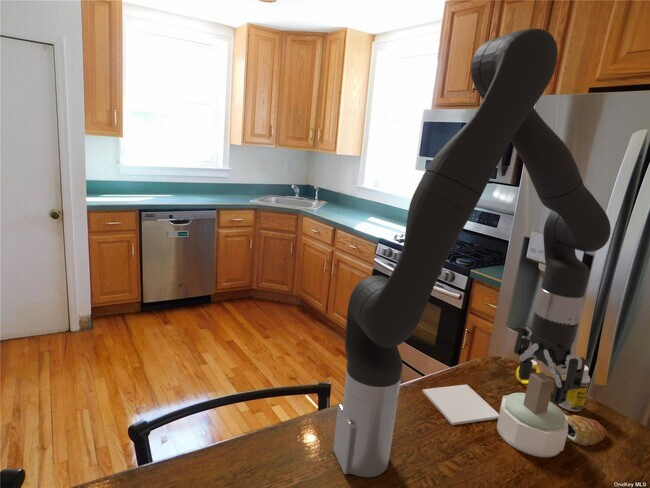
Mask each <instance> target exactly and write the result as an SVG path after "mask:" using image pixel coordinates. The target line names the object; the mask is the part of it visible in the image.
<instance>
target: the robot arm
mask: <svg viewBox="0 0 650 488" xmlns="http://www.w3.org/2000/svg"><path fill="white" fill-rule="evenodd" d="M558 56H559V55H558V45H557V42H556V40H555V37H554V36H553V35H552V34H551V33H550V32H549V31H547V30H545V29H542V28H526V29H521V30H518V31H514V32H511V33H508V34H504V35H501V36H499V37H495V38H492V39H490V40H488V41H485V43H482V44H481V45H480V46H479V47H478V49H477V50H476V51H475V53H474V55H473V57H472V61H471V64H470V73H471V74H470V76H471V80H472V83H473V85H474V87H475V89H476V91H477V93H478V95H479V96H480V97H481V99H482V100H481V103H480V104H479V107H478V108H477V109H476V111H475V112H474V114H473V115H472V116H471V117H470V118H469V120H468V122H467V123H466V124H465V125H463V126H462V128H461V129H460V130H459V131H458V132H457V133H456V134H454V136H453V137H452V138H451V139H449V141H448V142H446V144H444V146H443V147H442V148H441V149H440V150H439V151H438V153H437V154H435V156H434V157H433V158H432V160H431V161H430V163H429V164H428V166H427V167H426V169H425V172H424V173H423V175H422V177H421V179H420V181H419V182H418V184H417V186H416V189H415V190H414V192H413V195H412V197H411V200H410V204H409V207H408V212H407V219H406V226H405V234H404V241H403V245H402V250H401V253H400V255H399V258H398V260H397V263H396V265H395V266H394V268H393V270H392V272H391V274H390V276H389V278H388V277H386V276H383V275H370V276H367V277H365V278H363V279H362V280H360V281H359V282H358V283H357V284H356V286H355V287H354V289H352V292H351V294H350V296H349V300H348V303H347V304H348V305H347V313H346V325H345V338H344V340H345V342H344V344H345V345H344V347H345V354H346V361H347V362H346V372H345V381H344V389H343V398H342V403H341V404H338V405H337V413H336V421H335V431H334V440H333V449H332V450H333V453H334V456H335V457H336V459H337V461H338V463H339V466H340V467H341V470H342V473H343V474H344V475H349V474H350V475H354V476H357V477H362V478H373V477H377V476H380V475H381V474H383V473H385V471H386V470H387V469H388V466H389V461H390V455H391V448H392V442H393V435H394V427H395V423H396V422H395V421H396V414H397V413H396V412H397V406H398V401H399V395H400V394H399V392H400V388H401V381H402V373H403V359H402V355H401V354H400V350H399V347H398V346H400V345H401V344H403V343H404V342H406V341H407V340H408V339H410V337H411V336H412V334H414V332H415V330H416V329H417V327H418V326H419V323H420V321H421V319H422V316H423V315H424V312H425V310H426V307H427V305H428V302H429V300H430V297H431V295H432V293H433V290H434V287H435V285H436V284H437V281H438V278H439V276H440V274H441V272H442V270H443V268H444V266H445V264H446V262H447V261H448V258H449V256H450V254H451V253H452V250H453V248H454V246H455V244H456V243H457V241H458V239H459V237H460V235H461V233H462V231H463V230H464V228H465V225H467V223H468V222H469V219H470V217H471V216H472V214H473V212H474V210H475V209H476V206H477V205H478V203H479V201H480V200H481V197H482V195H483V193H484V191H485V190H486V187H487V185H488V184H489V181H490V179H491V178H492V176H493V174H494V172H495V170H496V169H497V167H498V165H499V164H500V162H501V160H502V158H503V156H504V155H505V153H506V151H507V150H508V147H509V146H510V144H511V143H512V145H513V148H514V149H515V150H516V152H517V154H518V156H519V158H520V160H521V161H522V163H523V165H524V167H525V169H526V172H527V173H528V176H529V177H530V181H531V182H532V185H533V188H534V190H535V191H536V194H537V196H538V198H539V200H540V202H541V203H542V205H543V206H544V207H545V208H547V209H548V210H551V212H550V213H549V215H548V216H547V218H546V220H545V221H544V225H543V232H542V233H543V248H544V249H543V252H544V261H545V263H544V264H545V268H544V272H543V277H542V281H541V286H540V290H539V292H538V295H537V298H536V302H535V307H534V313H533V318H532V323H531V326H526V327H519V330H518V333H517V337H516V340H515V345H514V348H513V352H514V354H515V355H518V356H519V360H520V363H519V366H520V367H519V366H518V367H519V377H520V379H521V380H529V377H530V374H532V373H531V372H532V369H533V367H532V365H533V362H532V361H531V360H534V361H535V359H536V360H537V361H539V362H542V363H543V364H544V365H545V366H547V368H548V369H549V371H550V374H551V375H553V378H554V382H555V384H554V386H553V391H552V395H551V396H552V398H551V401H550V402H551V403H553V404H554V405H556V406H557V405H558V404H562V403H564V402H565V401H566V397H567V393H568V390H573V389H580V388H581V384H582V378H583V373H584V368H585V365H586V359H585V358H584V357H577V356H576V355H574V354H572V352H571V351H572V350H571V347H572V345H573V343H575V340H576V338H577V333H578V329H579V324H580V321H581V316H582V311H583V306H584V296H585V292H586V287H587V284H588V279H589V275H590V268H589V267H588V266H587V265H586V264H585V263H584V262H583V261H581V260H580V259H579V258H578V256H577V255H576V250H578V251H581V252H585V253H586V252H587V253H593V252H598V250H601V249H602V248H604V247H605V246H606V245H607V243H608V242H609V240H610V237H611V231H612V228H611V222H610V219H609V216H608V214H607V212H606V211H605V210H604V208H603V207H602V206H601V204H600V203H599V201H598V200H597V199H596V198H595V197H594V195H593V194H592V192H590V190H589V189H588V187H586V185H585V184H584V182H583V179H582V175H581V172H580V170H579V168H578V165H577V163H576V161H575V158H574V156H573V153H571V150H570V149H569V148H568V145H566V143H565V142H564V141H563V140H562V139H561V138H560V136H559V135H557V134H556V133H555V132H554V130H553V129H552V127H551V126H549V125H548V124H547V122H545V120H544V119H543V118H542V117H541V116H540V114H539V113H538V111H537V110H536V108H535V106H536V104H537V103H538V101H539V100H540V99H541V97H542V95H543V94H544V92H545V91H546V89H547V87H548V86H549V84H550V82H551V81H552V78H553V77H554V74H555V71H556V67H557V63H558ZM530 343H531V344H530ZM530 345H531V346H530ZM559 366H561V368H560V369H558V368H557V367H559ZM561 375H562V376H563V379H564V380H562V377H561Z"/></svg>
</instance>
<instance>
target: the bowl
mask: <svg viewBox="0 0 650 488" xmlns="http://www.w3.org/2000/svg"><path fill="white" fill-rule="evenodd" d="M508 395H509V394H508ZM508 395H507V394H506V395H502V399H501V404H500V407H499V413H498V414H499V418H498V419H497V424H496V429H497V432H498V435H500V437H501V438H502V439H503V440H504V441H505V442H506V443H507V444H509V445H510V446H511V447H513V448H515V449H516V450H518V451H519V452H522V453H525V454H527V455H531V456H533V457H538V458H551V457H552V458H553V457H556V456H557V455H559V454H560V453H561V452H563V451H564V448H565V444H566V442H567V440H566V439H567V438H568V437H567V433H568V418H567V415H566V414H565V413H564V412H563V414H564V416H565V422H564V425H563V427H561V428H560V429H557V430H544V429H539V428H535V427H532V426H529V425H527V424H525V423H523V422H521V421H519V420H518V419H516V418H515V417H513V416H512V415H511V414H510V413H509V412H508V410H507V409H506V407H505V401H506V397H507V396H508Z"/></svg>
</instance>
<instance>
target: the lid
mask: <svg viewBox="0 0 650 488" xmlns="http://www.w3.org/2000/svg"><path fill="white" fill-rule="evenodd" d="M528 380H529V382H528V384H527V386H526V387H527V388H526V390H525V392H514V393H510V394H508V396H507V397H506V401H505V407H506V409H507V410H508V412H509V413H510V414H511V415H512V416H513V417H515V418H516V419H518V420H519V421H521V422H523V423H525V424H527V425H529V426H532V427H535V428H539V429H544V430H557V429H560V428H561V427H563V425H564V422H565V416H564V414H565V413H564V412H563V411H562V410H561V409H560V407H558V406H557V404H556V405H555V404H554V403H552V402H551V401H550V399H551V396H552V393H553V389H554V385H555V379H552V378H551V377H549V376H548V375H547V374H545V373H543V372H541V373H536V372H533V373H531V374H530V377H529V378H528ZM563 413H564V414H563Z"/></svg>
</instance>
